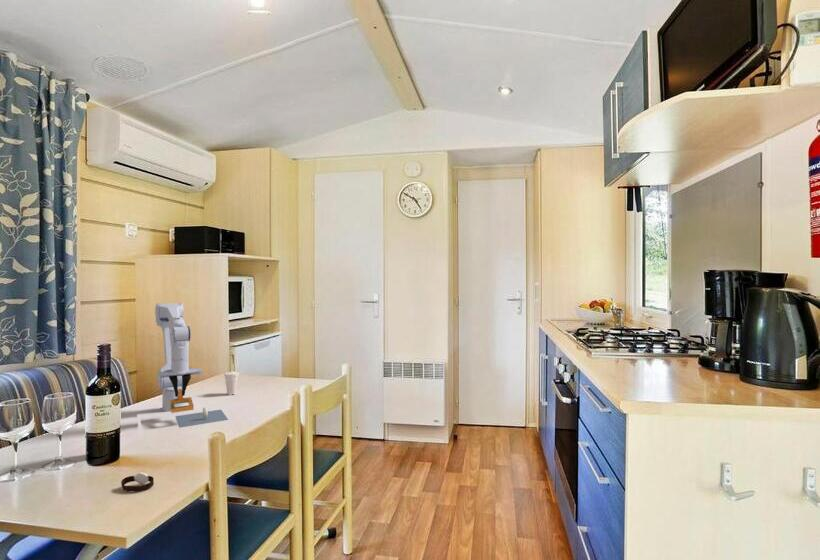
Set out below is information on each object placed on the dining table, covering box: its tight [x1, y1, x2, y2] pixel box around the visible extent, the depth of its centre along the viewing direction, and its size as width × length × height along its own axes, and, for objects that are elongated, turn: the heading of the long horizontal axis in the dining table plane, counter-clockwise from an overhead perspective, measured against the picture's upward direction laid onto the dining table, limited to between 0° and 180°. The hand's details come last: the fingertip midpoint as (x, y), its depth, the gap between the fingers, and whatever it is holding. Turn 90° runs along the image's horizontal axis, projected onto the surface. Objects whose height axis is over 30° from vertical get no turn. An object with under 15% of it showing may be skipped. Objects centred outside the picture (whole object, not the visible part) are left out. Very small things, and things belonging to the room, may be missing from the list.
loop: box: [170, 390, 195, 414], centre depth 159 cm, size 12×7×2 cm, turn 33°
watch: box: [120, 471, 155, 492], centre depth 110 cm, size 8×5×4 cm, turn 89°
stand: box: [175, 406, 229, 429], centre depth 162 cm, size 15×16×5 cm
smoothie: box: [223, 363, 240, 396], centre depth 200 cm, size 6×6×14 cm
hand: (179, 395), depth 162 cm, fingers closed on loop, 2 cm apart
